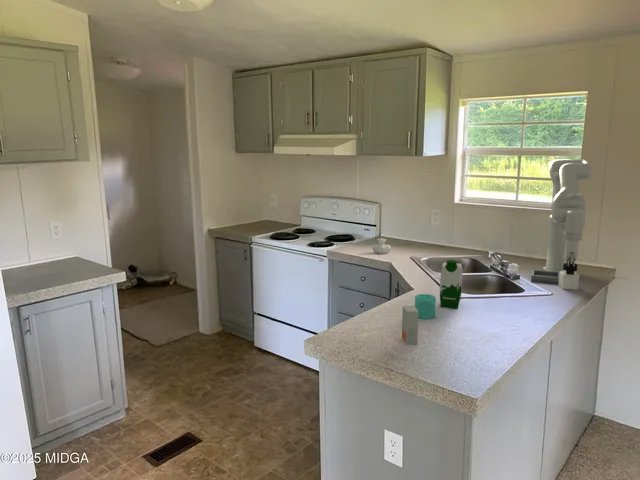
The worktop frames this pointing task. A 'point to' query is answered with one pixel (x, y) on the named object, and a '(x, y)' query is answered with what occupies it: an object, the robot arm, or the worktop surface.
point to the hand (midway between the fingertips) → (569, 271)
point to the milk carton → (450, 284)
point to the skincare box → (410, 325)
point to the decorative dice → (425, 306)
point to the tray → (545, 276)
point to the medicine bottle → (568, 278)
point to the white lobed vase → (381, 247)
